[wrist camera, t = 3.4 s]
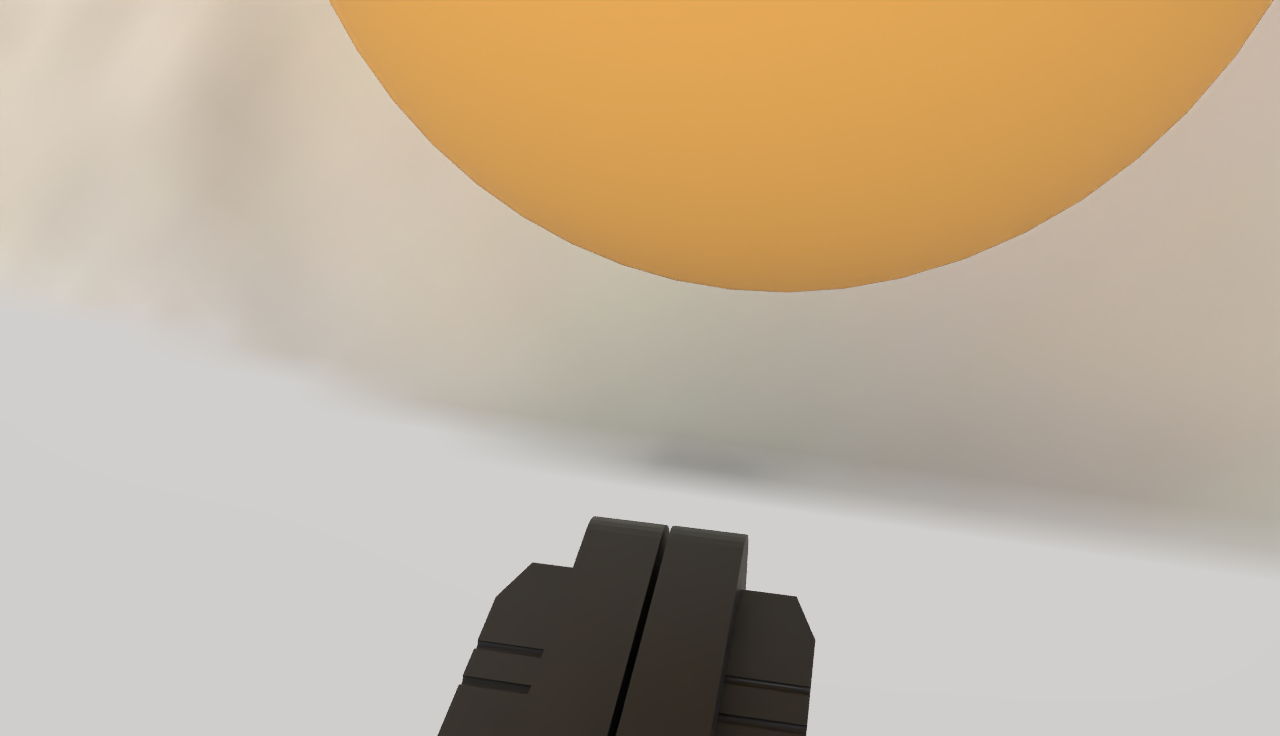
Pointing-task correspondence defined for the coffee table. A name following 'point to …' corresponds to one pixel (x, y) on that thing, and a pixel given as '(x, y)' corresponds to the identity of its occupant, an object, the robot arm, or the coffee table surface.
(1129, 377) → the coffee table surface
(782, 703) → the robot arm
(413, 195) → the coffee table surface
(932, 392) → the coffee table surface
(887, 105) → the ball
